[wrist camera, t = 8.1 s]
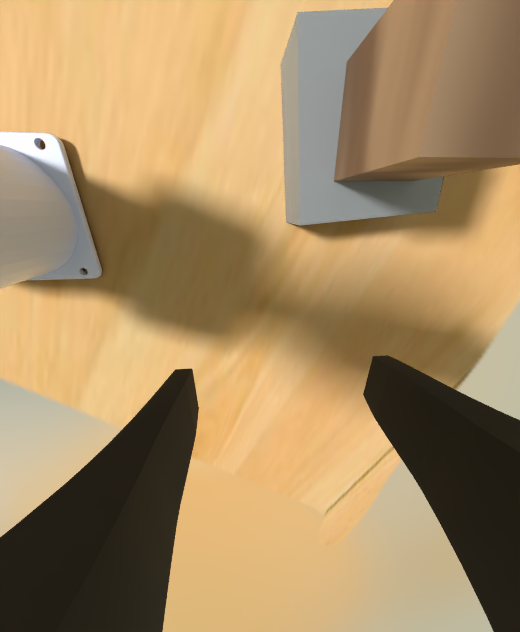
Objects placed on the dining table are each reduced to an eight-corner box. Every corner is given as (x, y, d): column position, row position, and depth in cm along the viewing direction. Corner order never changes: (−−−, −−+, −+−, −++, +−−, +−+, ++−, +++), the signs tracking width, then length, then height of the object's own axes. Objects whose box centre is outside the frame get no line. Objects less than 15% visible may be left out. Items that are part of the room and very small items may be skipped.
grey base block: (285, 221, 16) (299, 225, 13) (279, 68, 13) (297, 11, 9) (391, 210, 17) (435, 211, 13) (415, 59, 13) (484, 3, 10)
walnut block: (333, 181, 12) (418, 157, 6) (346, 61, 10) (484, -118, 4) (414, 181, 12) (557, 158, 7) (441, 66, 10) (673, -94, 5)
